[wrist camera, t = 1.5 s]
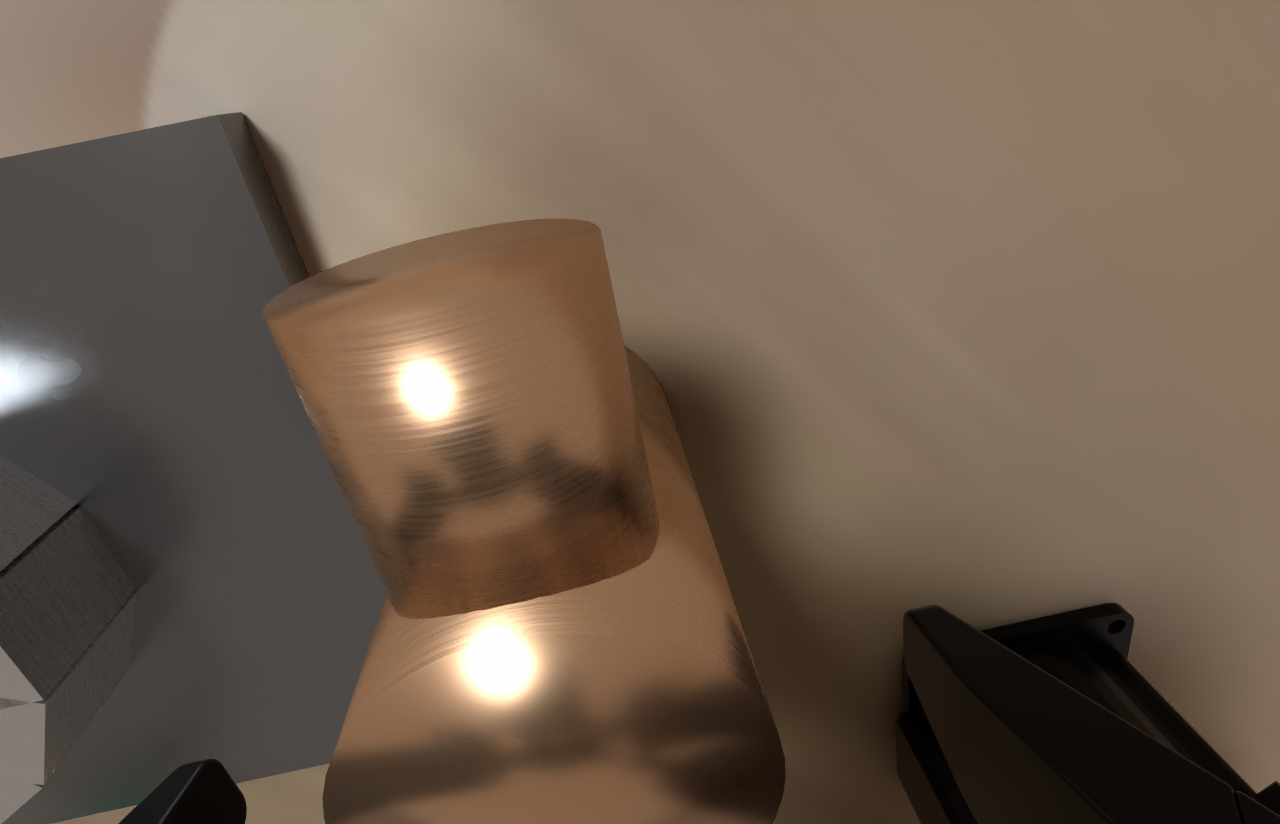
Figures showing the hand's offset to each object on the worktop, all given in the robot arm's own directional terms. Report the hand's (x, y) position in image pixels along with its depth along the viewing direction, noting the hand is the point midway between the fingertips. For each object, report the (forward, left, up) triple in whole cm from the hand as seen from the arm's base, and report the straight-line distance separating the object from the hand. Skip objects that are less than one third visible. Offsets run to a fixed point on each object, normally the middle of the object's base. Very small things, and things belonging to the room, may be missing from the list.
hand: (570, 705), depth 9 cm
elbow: (0, -2, -8) cm, 8 cm away
